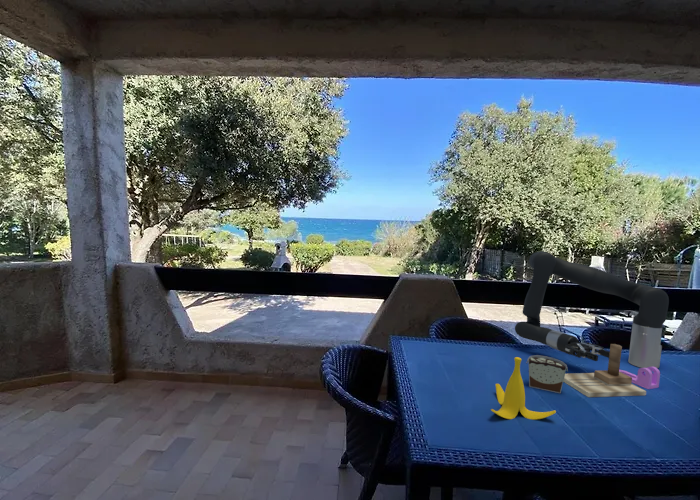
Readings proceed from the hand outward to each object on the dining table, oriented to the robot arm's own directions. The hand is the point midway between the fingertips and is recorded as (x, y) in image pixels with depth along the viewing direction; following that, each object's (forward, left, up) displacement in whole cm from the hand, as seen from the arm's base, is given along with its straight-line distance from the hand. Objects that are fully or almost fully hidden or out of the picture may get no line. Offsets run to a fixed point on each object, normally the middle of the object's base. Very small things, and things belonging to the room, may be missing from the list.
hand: (604, 357), depth 122 cm
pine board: (+4, +3, -9) cm, 11 cm away
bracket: (-14, -1, -10) cm, 17 cm away
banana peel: (+48, +17, -10) cm, 52 cm away
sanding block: (-1, +3, -8) cm, 8 cm away
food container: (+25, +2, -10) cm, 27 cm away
